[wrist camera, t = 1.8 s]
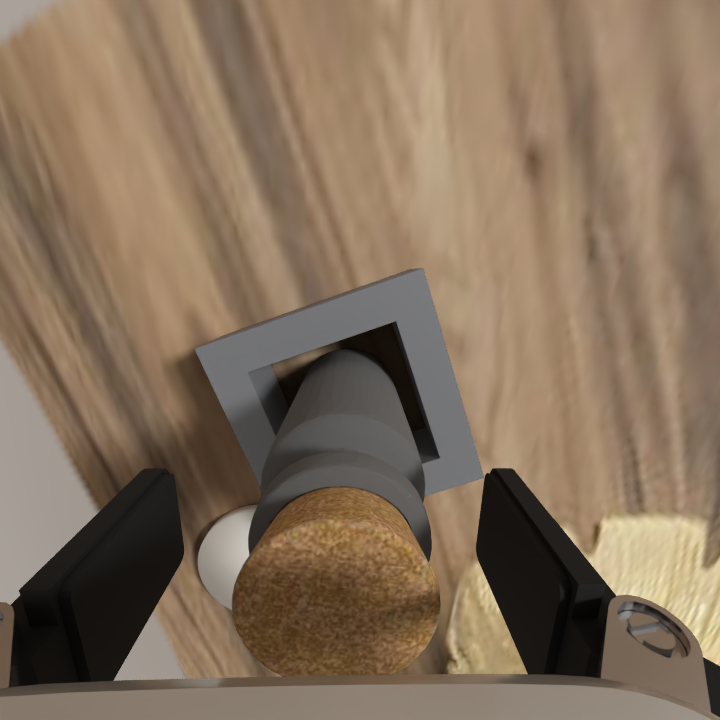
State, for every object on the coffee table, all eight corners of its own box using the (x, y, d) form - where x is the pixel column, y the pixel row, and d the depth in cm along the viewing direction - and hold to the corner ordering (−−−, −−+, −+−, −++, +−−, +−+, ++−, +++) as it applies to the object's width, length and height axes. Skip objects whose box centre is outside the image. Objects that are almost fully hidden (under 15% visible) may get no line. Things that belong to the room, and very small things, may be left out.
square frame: (462, 443, 23) (484, 477, 19) (296, 496, 24) (284, 539, 20) (410, 269, 20) (423, 268, 17) (223, 335, 21) (194, 349, 17)
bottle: (364, 448, 23) (381, 740, 9) (287, 407, 22) (161, 653, 8) (411, 375, 22) (521, 572, 7) (330, 330, 21) (278, 451, 7)
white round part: (344, 588, 26) (343, 597, 25) (233, 620, 27) (229, 631, 26) (300, 488, 24) (298, 495, 23) (181, 526, 24) (175, 534, 24)
